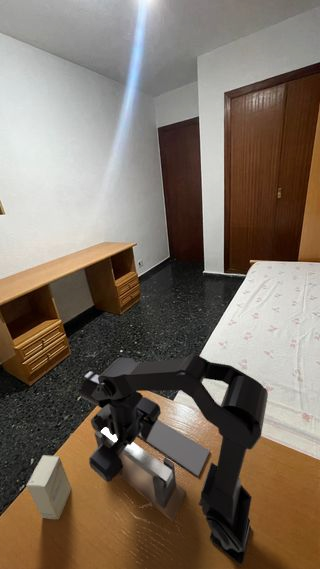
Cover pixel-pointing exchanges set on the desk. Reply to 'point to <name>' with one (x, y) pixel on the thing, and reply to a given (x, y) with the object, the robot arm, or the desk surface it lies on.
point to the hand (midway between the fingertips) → (133, 456)
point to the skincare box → (49, 487)
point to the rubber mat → (178, 447)
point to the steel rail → (142, 459)
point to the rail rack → (150, 483)
